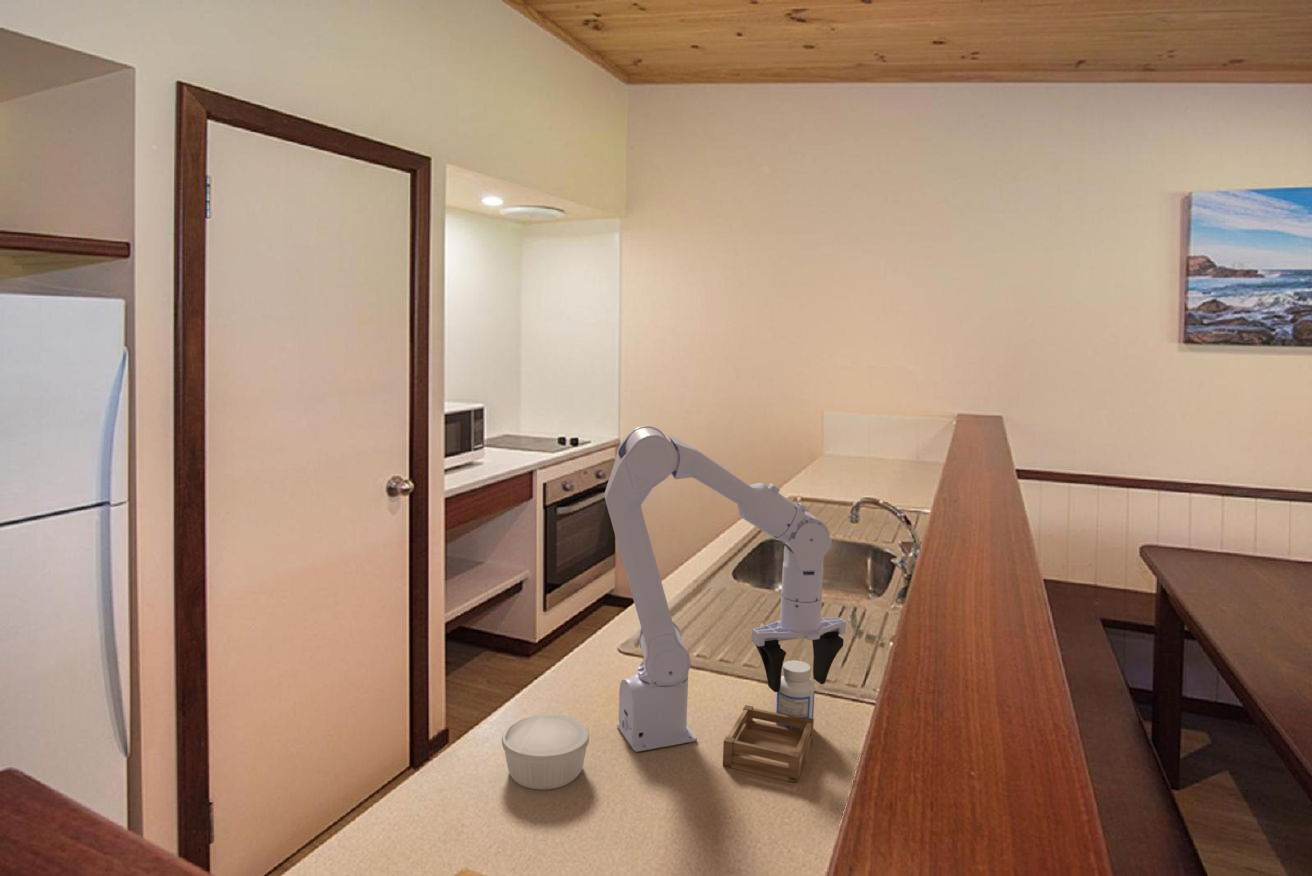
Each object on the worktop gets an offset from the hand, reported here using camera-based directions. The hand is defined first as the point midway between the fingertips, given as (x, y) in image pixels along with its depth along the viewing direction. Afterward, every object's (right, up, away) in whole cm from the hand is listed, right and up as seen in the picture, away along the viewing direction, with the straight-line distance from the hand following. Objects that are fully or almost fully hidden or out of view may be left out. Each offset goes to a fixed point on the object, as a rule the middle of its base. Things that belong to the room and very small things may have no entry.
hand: (796, 685), depth 118 cm
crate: (-5, -8, -6) cm, 11 cm away
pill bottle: (0, -7, +1) cm, 7 cm away
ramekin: (-35, -8, -12) cm, 38 cm away
